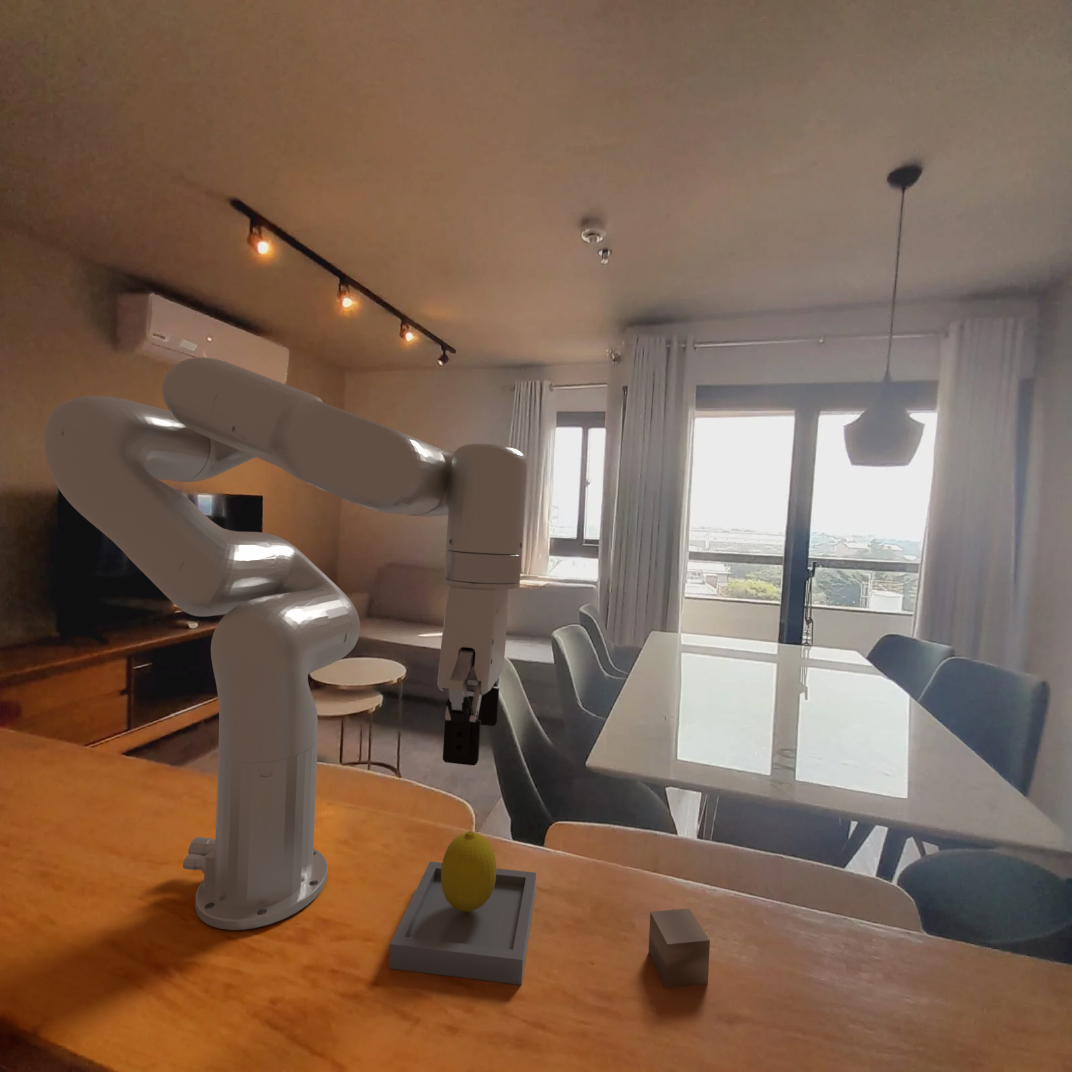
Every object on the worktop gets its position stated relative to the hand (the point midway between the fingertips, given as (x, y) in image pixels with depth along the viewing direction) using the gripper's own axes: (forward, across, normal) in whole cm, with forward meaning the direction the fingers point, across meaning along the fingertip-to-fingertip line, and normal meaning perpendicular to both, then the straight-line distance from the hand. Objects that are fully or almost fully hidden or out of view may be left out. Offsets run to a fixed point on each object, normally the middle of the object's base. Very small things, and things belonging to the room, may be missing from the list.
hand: (472, 741), depth 53 cm
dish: (+18, 0, +1) cm, 19 cm away
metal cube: (+18, +2, +21) cm, 28 cm away
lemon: (+18, 0, 0) cm, 18 cm away
